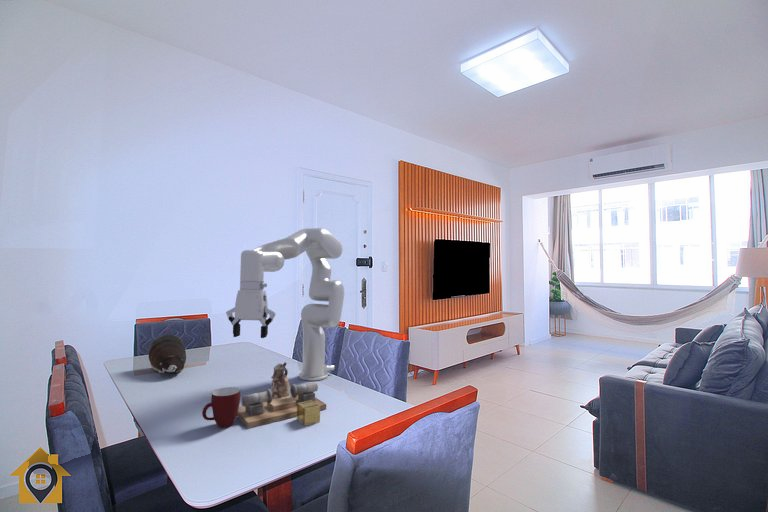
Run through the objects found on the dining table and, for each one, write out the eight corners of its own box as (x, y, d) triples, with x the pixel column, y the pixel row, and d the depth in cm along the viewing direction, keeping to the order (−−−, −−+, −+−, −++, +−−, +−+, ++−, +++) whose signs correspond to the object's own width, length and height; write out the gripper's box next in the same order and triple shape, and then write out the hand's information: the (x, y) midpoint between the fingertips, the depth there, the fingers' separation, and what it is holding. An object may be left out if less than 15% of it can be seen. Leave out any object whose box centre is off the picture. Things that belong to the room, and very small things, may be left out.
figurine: (266, 396, 138) (266, 363, 138) (283, 391, 143) (283, 360, 144) (276, 401, 133) (277, 367, 133) (293, 396, 138) (294, 363, 139)
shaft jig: (308, 397, 137) (308, 375, 138) (326, 409, 126) (326, 385, 126) (234, 413, 122) (235, 388, 122) (247, 428, 111) (248, 400, 111)
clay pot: (154, 354, 151) (151, 333, 171) (147, 390, 152) (144, 365, 172) (194, 354, 160) (186, 334, 180) (187, 388, 161) (180, 364, 181)
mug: (209, 436, 105) (210, 400, 105) (197, 427, 111) (198, 393, 111) (244, 424, 113) (245, 391, 113) (232, 417, 118) (232, 385, 119)
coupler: (296, 419, 118) (296, 403, 118) (311, 415, 121) (311, 399, 121) (304, 425, 113) (305, 409, 113) (320, 421, 116) (320, 405, 116)
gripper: (280, 286, 130) (278, 336, 129) (233, 285, 132) (232, 334, 132) (271, 287, 123) (269, 340, 122) (221, 286, 125) (220, 337, 124)
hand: (250, 336), depth 127 cm, fingers open, 9 cm apart
